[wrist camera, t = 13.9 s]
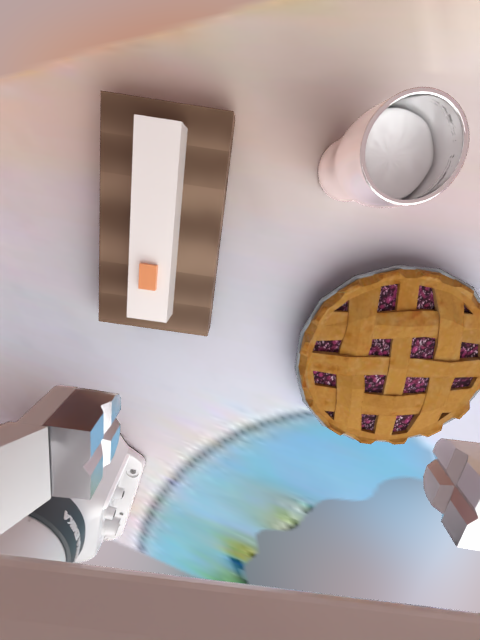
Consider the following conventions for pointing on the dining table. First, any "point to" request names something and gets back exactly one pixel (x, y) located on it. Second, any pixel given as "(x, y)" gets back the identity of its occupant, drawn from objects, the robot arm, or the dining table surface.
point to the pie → (391, 354)
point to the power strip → (155, 216)
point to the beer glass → (398, 151)
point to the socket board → (196, 210)
